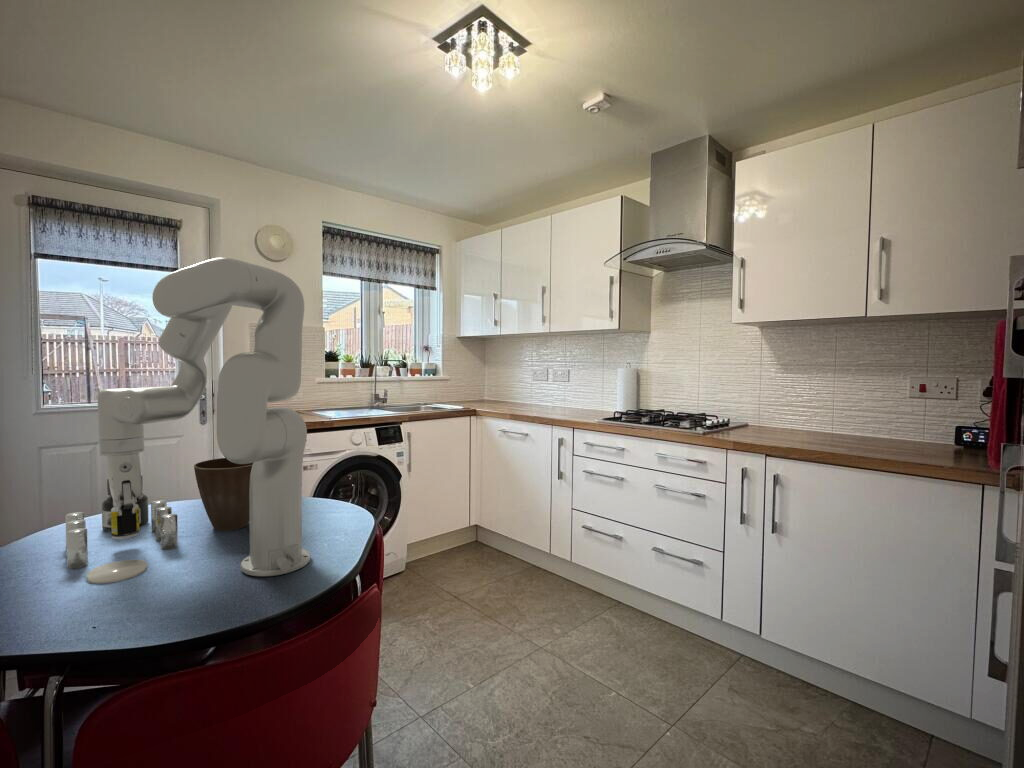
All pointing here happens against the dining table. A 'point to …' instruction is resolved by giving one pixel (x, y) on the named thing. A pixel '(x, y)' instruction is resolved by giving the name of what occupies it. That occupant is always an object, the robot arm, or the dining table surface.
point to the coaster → (116, 571)
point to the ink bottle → (108, 505)
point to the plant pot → (224, 492)
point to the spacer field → (160, 524)
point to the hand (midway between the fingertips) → (125, 529)
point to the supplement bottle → (114, 521)
